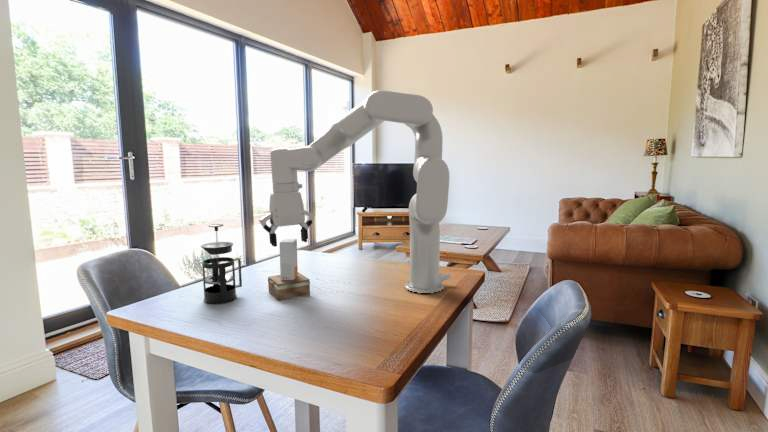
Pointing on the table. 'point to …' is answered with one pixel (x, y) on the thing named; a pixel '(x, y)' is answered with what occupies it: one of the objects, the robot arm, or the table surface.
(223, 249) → the french press
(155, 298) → the table surface
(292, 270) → the skincare box
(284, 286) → the gift box
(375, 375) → the table surface
